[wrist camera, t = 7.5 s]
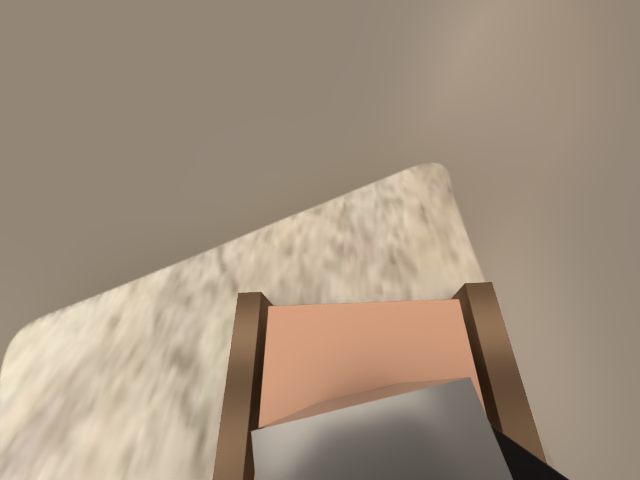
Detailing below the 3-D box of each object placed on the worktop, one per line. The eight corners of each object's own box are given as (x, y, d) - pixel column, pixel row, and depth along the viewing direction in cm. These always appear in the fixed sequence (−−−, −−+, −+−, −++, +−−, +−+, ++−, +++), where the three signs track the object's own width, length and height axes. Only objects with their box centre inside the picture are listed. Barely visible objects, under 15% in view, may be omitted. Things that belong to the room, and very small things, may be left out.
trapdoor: (478, 491, 17) (510, 514, 13) (272, 486, 18) (251, 506, 14) (442, 315, 22) (458, 299, 18) (282, 321, 23) (268, 306, 19)
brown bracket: (517, 510, 17) (572, 547, 13) (241, 502, 19) (205, 532, 14) (466, 305, 23) (491, 282, 18) (259, 312, 24) (238, 292, 20)
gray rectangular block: (429, 487, 14) (625, 751, 4) (336, 510, 14) (288, 834, 4) (397, 383, 16) (470, 376, 6) (316, 403, 16) (251, 431, 6)
